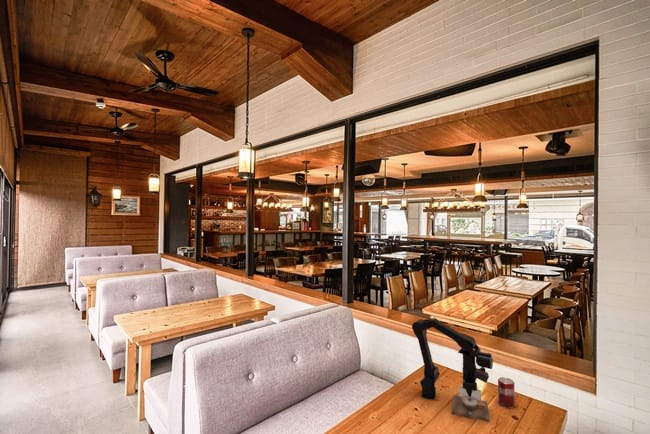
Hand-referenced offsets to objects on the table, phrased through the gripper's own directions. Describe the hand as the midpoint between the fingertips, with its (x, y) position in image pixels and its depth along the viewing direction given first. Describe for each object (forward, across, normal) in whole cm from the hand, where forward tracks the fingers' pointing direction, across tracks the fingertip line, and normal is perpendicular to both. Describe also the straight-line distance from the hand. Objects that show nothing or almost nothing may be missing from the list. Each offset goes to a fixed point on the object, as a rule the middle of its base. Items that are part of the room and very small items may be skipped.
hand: (469, 395), depth 157 cm
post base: (+7, 0, 0) cm, 7 cm away
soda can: (+7, +11, -17) cm, 21 cm away
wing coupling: (+5, 0, 0) cm, 5 cm away
